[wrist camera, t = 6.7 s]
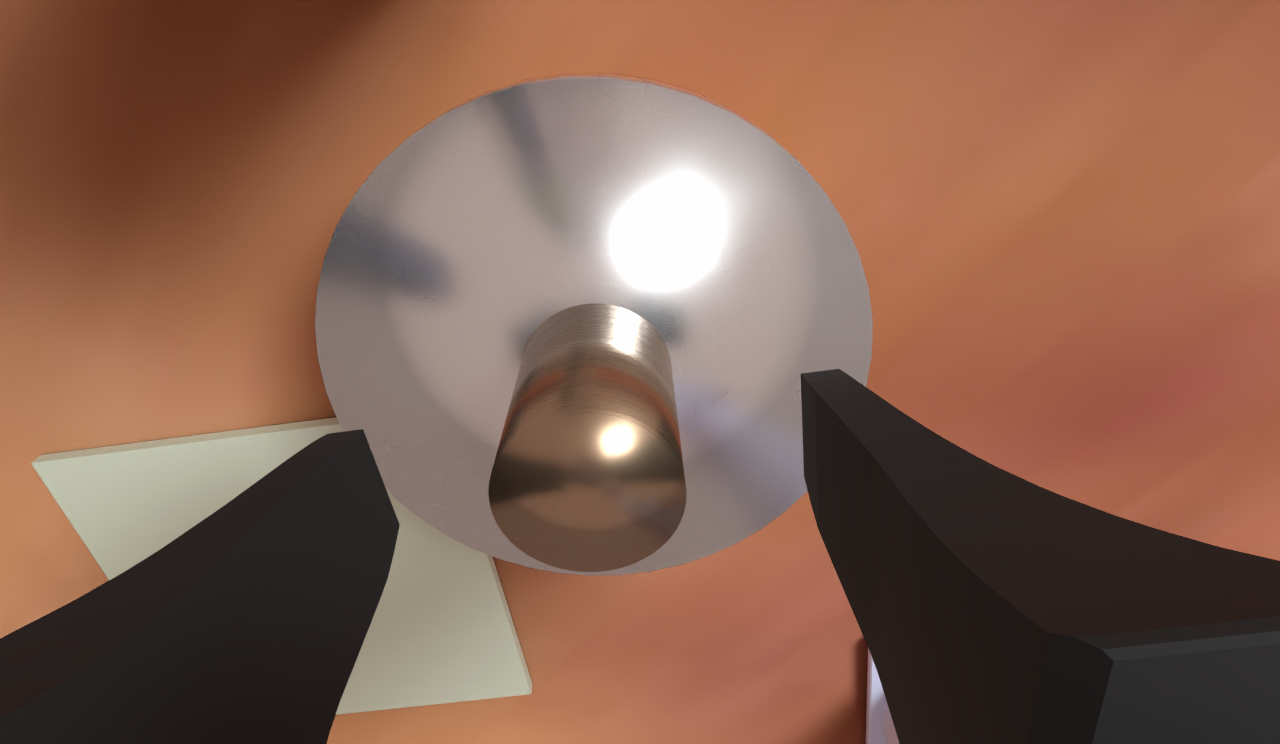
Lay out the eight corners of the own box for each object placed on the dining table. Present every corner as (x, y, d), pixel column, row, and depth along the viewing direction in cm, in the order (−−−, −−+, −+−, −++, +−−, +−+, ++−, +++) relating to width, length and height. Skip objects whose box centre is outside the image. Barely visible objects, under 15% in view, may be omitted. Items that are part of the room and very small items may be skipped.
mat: (532, 684, 26) (531, 693, 26) (213, 718, 27) (208, 728, 26) (444, 403, 20) (441, 410, 20) (40, 455, 21) (30, 463, 20)
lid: (842, 537, 18) (910, 712, 13) (399, 565, 18) (328, 746, 14) (885, 49, 12) (1019, 85, 8) (255, 96, 13) (68, 155, 8)
